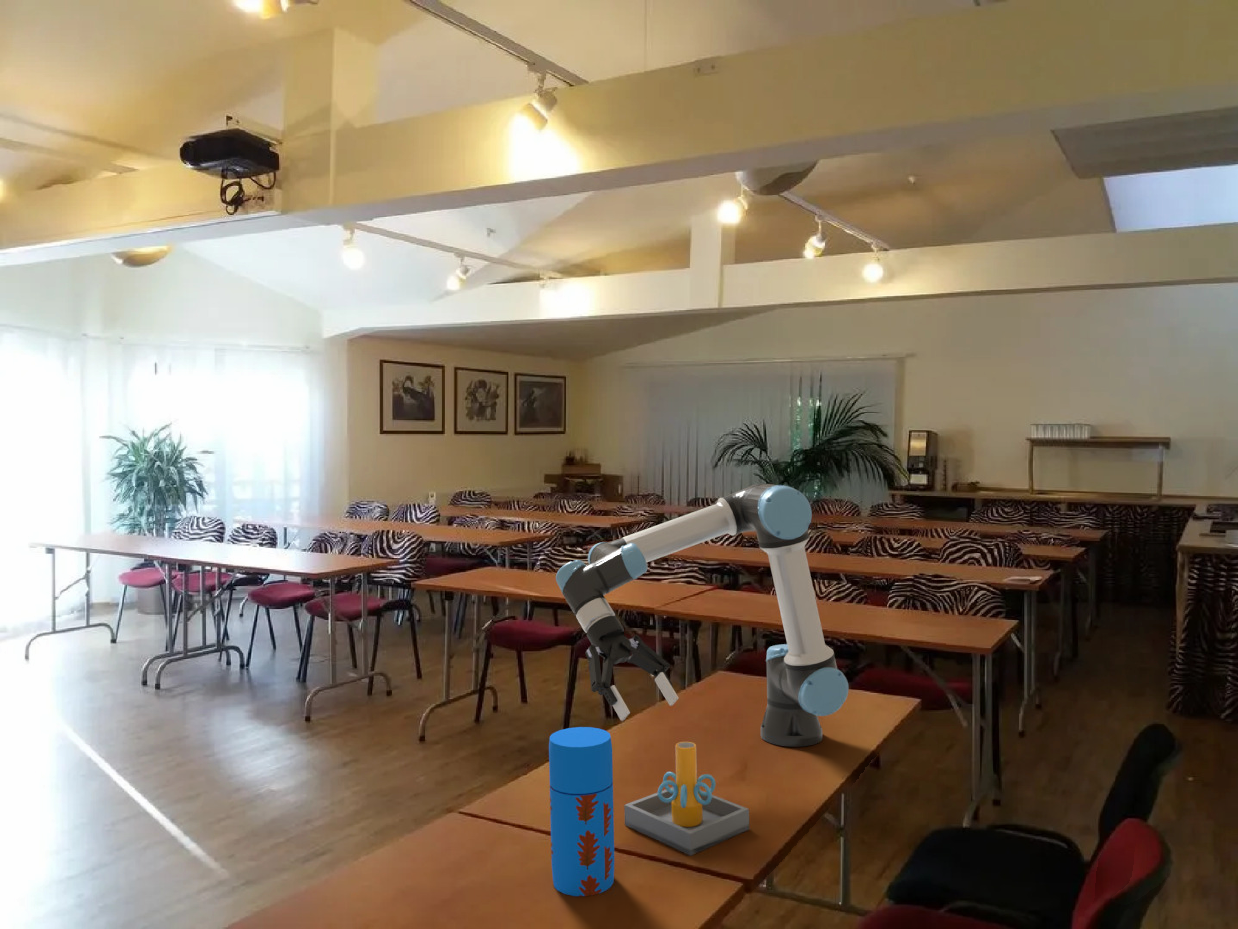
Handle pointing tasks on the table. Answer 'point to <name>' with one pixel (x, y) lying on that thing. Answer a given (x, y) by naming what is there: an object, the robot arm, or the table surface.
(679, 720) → the table surface
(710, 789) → the cylinder
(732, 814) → the tray
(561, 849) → the thermos
